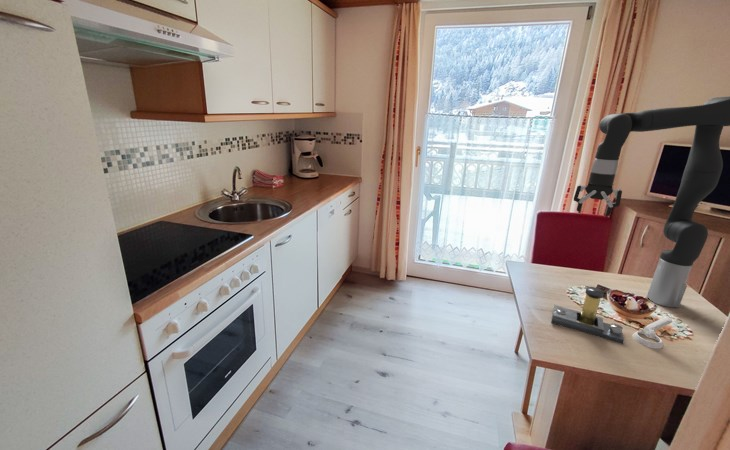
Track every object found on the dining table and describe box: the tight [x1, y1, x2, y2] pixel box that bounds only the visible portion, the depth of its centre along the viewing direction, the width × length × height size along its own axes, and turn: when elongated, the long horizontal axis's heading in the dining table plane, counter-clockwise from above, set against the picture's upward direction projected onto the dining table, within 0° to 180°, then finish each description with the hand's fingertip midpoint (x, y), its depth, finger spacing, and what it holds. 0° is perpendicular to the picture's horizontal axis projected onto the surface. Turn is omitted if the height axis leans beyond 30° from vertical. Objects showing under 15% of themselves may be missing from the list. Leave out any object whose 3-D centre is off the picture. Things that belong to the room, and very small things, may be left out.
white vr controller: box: [632, 315, 673, 349], centre depth 104 cm, size 8×12×7 cm
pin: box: [579, 286, 605, 325], centre depth 110 cm, size 5×5×14 cm
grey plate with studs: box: [551, 304, 625, 345], centre depth 111 cm, size 20×8×3 cm, turn 58°
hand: (592, 214), depth 124 cm, fingers open, 8 cm apart
